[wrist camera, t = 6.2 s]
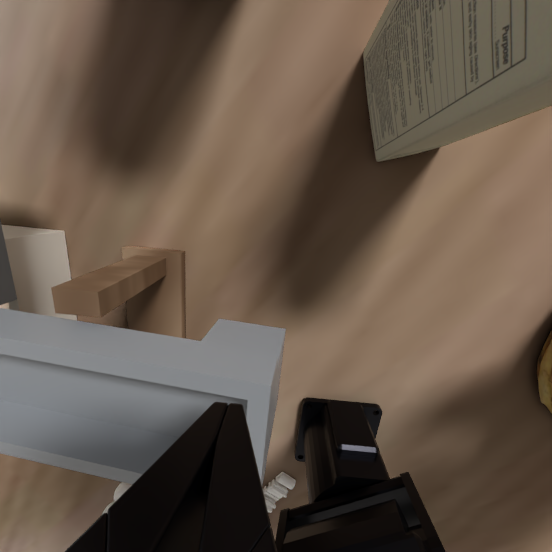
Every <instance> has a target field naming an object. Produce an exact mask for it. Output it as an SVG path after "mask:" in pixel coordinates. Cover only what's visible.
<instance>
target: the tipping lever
mask: <svg viewBox="0 0 552 552" xmlns="http://www.w3.org/2000/svg"><path fill="white" fill-rule="evenodd" d="M15 300H17V296H16V291H15V286H14V282H13V277H12V272H11V267H10V263H9V258H8V253H7V248H6V244H5V239H4V234H3V230H2V225H1V220H0V305H3V304H6V303H9V302H12V301H15ZM285 332H286V329H283V328H276V327H270V326H263V325H257V324H251V323H244V322H238V321H231V320H225V319H219V320H218V321H217V322H216V323H215V325H214V326H213V327H212V328H211V329H210V331H209V332H208V333H207V334H206V336H205V337H204V338H203V339H202V341H197V340H191V339H185V338H179V337H173V336H167V335H161V334H155V333H148V332H142V331H136V330H130V329H124V328H118V327H112V326H106V325H100V324H94V323H88V322H82V321H76V320H70V319H64V318H58V317H52V316H46V315H40V314H34V313H28V312H21V311H15V310H9V309H3V308H0V453H1V454H6V455H10V456H14V457H18V458H23V459H27V460H31V461H35V462H39V463H44V464H48V465H52V466H56V467H61V468H65V469H69V470H73V471H78V472H82V473H86V474H90V475H95V476H99V477H103V478H107V479H112V480H116V481H120V482H124V483H129V484H133V483H134V482H135V481H136V480H137V479H138V478H139V477H140V476H141V475H142V474H143V473H144V472H145V471H146V470H147V469H148V468H149V467H150V466H151V465H152V464H153V463H154V462H155V461H156V460H157V459H158V458H159V457H160V456H161V455H162V454H163V453H164V452H165V451H166V450H167V449H168V448H169V447H170V446H171V445H172V444H173V443H174V442H175V441H176V440H177V439H178V438H179V437H180V436H181V435H182V434H183V433H184V432H185V431H186V430H187V429H188V428H189V427H190V426H191V425H192V424H193V423H194V422H195V421H196V420H197V419H198V418H199V417H200V416H201V415H202V414H203V413H204V412H205V411H206V410H207V409H208V408H209V407H210V406H211V405H212V404H213V403H214V402H226V403H228V405H229V404H230V403H239V404H242V405H243V407H244V411H245V416H246V420H247V424H248V429H249V433H250V437H251V442H252V446H253V450H254V455H255V459H256V463H257V467H258V472H259V476H260V480H261V485H262V486H263V480H264V475H265V469H266V461H267V454H268V448H269V443H270V437H271V432H272V426H273V421H274V416H275V410H276V405H277V399H278V391H279V382H280V374H281V365H282V357H283V348H284V340H285Z"/></svg>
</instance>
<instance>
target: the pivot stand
mask: <svg viewBox="0 0 552 552" xmlns="http://www.w3.org/2000/svg"><path fill="white" fill-rule="evenodd" d="M121 250H122V261H119V262H117V263H114V264H111V265H109V266H106V267H104V268H101V269H98V270H96V271H93V272H90V273H88V274H85V275H83V276H80V277H77V278H75V279H72V280H70V281H67V282H64V283H62V284H59V285H57V286H54V287H51V291H52V297H53V302H54V308H55V313H58V314H68V315H79V316H89V317H99V318H101V317H102V316H104V315H105V314H107V313H109V312H110V311H112V310H113V309H115V308H116V307H118V306H119V305H121V304H122V303H124V302H125V301H126V312H127V324H128V329H130V330H136V331H142V332H148V333H155V334H161V335H167V336H173V337H179V338H185V339H186V319H185V251H179V250H168V249H158V248H148V247H138V246H125V247H122V248H121Z"/></svg>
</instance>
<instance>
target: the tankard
mask: <svg viewBox="0 0 552 552" xmlns="http://www.w3.org/2000/svg"><path fill="white" fill-rule="evenodd" d="M537 378H538V382H539V394H540V399H541V402H542V403H543V404H545V405H546V406H547V408H548V409H549V411H550V412H551V414H552V330H551V332H550V334H549V336H548V338H547V339H546V342H545V344H544V346H543V349H542V351H541V353H540V356H539V358H538V366H537Z"/></svg>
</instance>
